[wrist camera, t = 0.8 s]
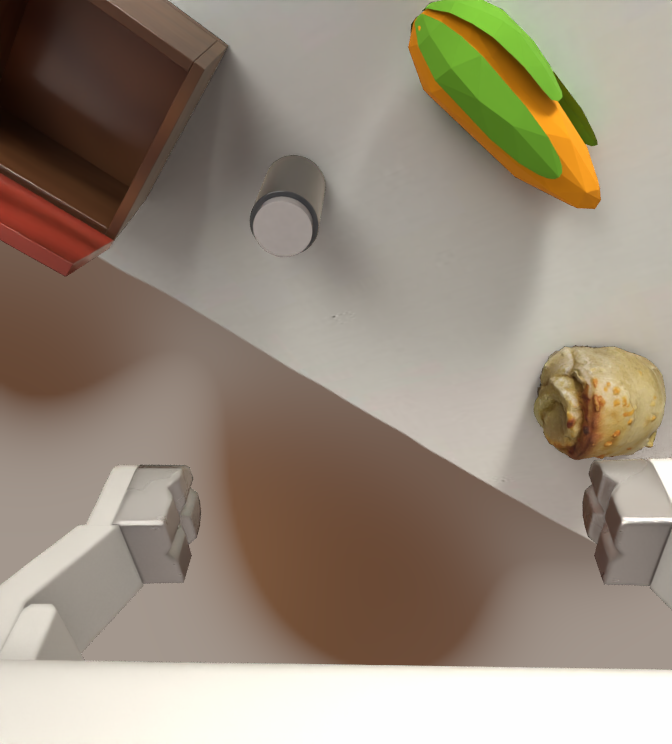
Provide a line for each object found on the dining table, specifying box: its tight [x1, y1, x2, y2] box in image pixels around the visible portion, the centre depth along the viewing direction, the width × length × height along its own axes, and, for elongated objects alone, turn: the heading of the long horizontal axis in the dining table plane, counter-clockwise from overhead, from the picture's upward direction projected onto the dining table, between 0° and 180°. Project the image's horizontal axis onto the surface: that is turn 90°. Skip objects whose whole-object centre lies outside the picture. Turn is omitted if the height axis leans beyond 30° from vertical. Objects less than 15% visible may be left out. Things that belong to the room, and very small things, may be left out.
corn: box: [408, 0, 601, 209], centre depth 46 cm, size 7×8×20 cm
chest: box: [0, 0, 228, 242], centre depth 46 cm, size 15×14×8 cm
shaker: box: [250, 155, 326, 257], centre depth 50 cm, size 5×5×9 cm
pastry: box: [534, 345, 666, 460], centre depth 62 cm, size 14×12×8 cm
